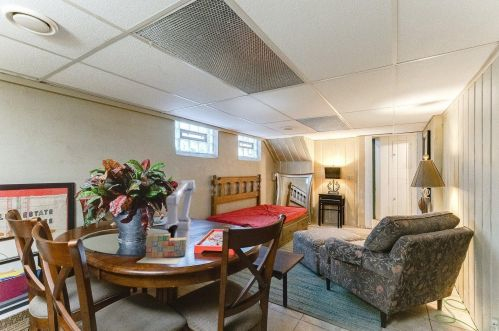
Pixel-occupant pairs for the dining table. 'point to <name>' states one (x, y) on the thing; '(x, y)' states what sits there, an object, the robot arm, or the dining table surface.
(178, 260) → the mat
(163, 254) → the stack of blocks
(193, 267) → the dining table surface
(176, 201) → the robot arm
